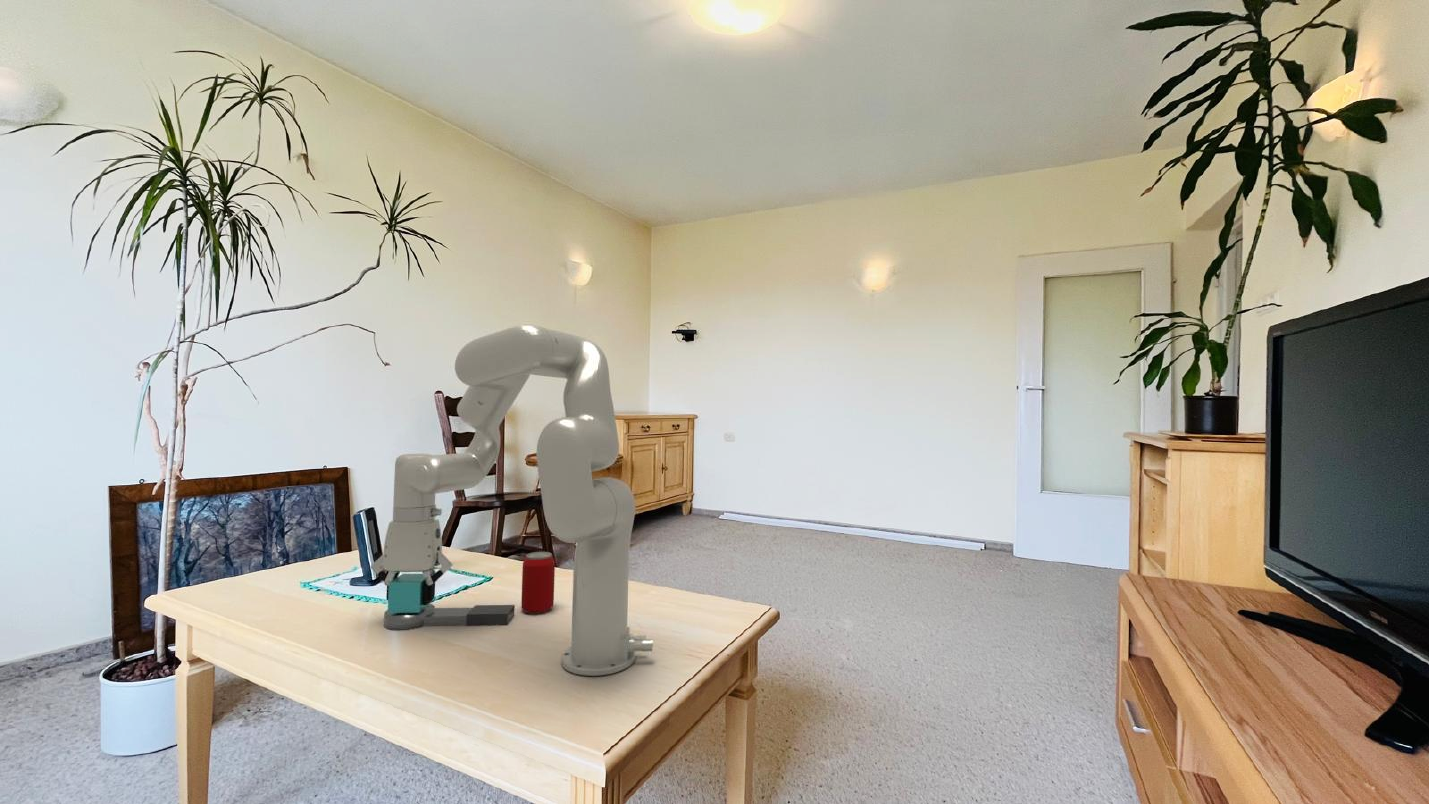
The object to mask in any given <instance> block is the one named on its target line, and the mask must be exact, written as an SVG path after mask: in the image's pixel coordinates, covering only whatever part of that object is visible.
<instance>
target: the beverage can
mask: <svg viewBox="0 0 1429 804" xmlns="http://www.w3.org/2000/svg"><path fill="white" fill-rule="evenodd" d="M555 566H556V562H555V559H554V556H553V554H552V553H551V552H548V551H533V552H530V553H527V554H526V555H525V559H524V561H523V562H522V569H521V570H522V571H521V572H522V573H521V577H522V578H521V610H523V611H524V612H525V613H527V614H531V615H536V614H544V613H546V612H548V611H549V610H551V609H552V608H553V607H554V602H555V601H554V599H555V575H556V574H555V572H556V571H555V570H556V569H555V568H556V567H555Z"/></svg>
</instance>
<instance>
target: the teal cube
mask: <svg viewBox="0 0 1429 804" xmlns="http://www.w3.org/2000/svg"><path fill="white" fill-rule="evenodd" d="M425 585H426V581H425V578H424V575H423V573H402V574H401V575H400V574H399V576H398V577H397V578H395V579H394V580H392V581H390V582H389V592H388V600H387V610H388V613H420V612H421V611H422V610H423V609H425V608H426V607H427V606H428V605H430V604H433V600H432V601H431V602H430V603H429V604H428V605H423V591H424V586H425Z"/></svg>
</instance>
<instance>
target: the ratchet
mask: <svg viewBox="0 0 1429 804" xmlns="http://www.w3.org/2000/svg"><path fill="white" fill-rule="evenodd" d="M515 607H516V606H515V604H487V605H486V604H481V605H478V604H476V605H474V606H473V607H436V606H435V605H434V604H433V603H431V604H430V605H428V606H427V607H426V608H425V609H423V610H422V611H421V612H420V613H388V609H387V610H385V611H384V614H383V628H384V629H386V630H389V631H394V632H395V631H397V632H400V631H411V630H416V629H420V628H422V627H453V626H454V627H463V626H464V627H465V626H466V627H489V626H492V627H493V626H508V625H509V624H510V622H511V621H512V619H513V618H514V617H515V610H516V609H515ZM415 628H416V629H415ZM410 629H411V630H410Z"/></svg>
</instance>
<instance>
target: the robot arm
mask: <svg viewBox="0 0 1429 804" xmlns="http://www.w3.org/2000/svg"><path fill="white" fill-rule="evenodd" d="M608 364H609V363H608V360H607V357H606V355H605V352H604V351H603V350H602V348H600V346H598V345H597V344H596V343H595V342H593V341H592V340H589V339H587V338H584V337H581V336H578V335H575V334H571V333H566V332H563V331H558V330H555V329H549V328H545V327H541V326H538V325H532V324H521V325H515V326H512V327H508V328H506V329H502V330H500V331H496V332H494V333H490V334H486V335H483V336H481V337H478V338H476V339H475V338H474V339H472V340H471V341H469V342H468V343H466V344H464V346H463V347H461V349H460V351H459V352H458V354H457V356H456V359H455V362H454V371H455V375H456V376H457V379H458V380H459V381H461V383H462V384H465V385H467V386H468V388H467V389H466V391H465V392H464V394H463V396H462V398H461V399H460V400H459V402H458V404H457V407H456V412H457V415H458V417H459V418H460V419H461V420H462V421H463V422H464V423H465V424H466V425H468V426H469V427H471V428H472V429H474V430H475V432H474V435H473V439H472V440H471V441H470V443H469V445H468V447H467V448H466V449H465V451H464V452H463V453H447V454H446V453H445V454H434V455H433V454H429V453H405V454H401V455H398V456H397V457H396V458H395V463H394V477H393V478H394V479H393V482H394V483H393V503H392V506H393V507H392V520H391V521H390V522H389V523H388V527H387V530H386V534H385V539H384V544H383V552H382V554H381V555H380V557H378V558H377V559H376V560H375V561H374V562H373V563H372V564H371V565H370V569H371V571H373V572H374V573H375V574H377V576H378V578H379V579H380V580H382V582H383V583H384V586H386V600H387V601H388V592H389V582H390V581H392V580H394V579H395V578H397V577H399V576H400V573H411V572H413V573H414V572H415V573H419V572H422V573H421V574H423V575H424V578H425V581H426V585H425V586H424V591H423V605H428V604H429V603H430V602H431V601H432V602H433V600H434V599H435V595H436V582H437V581H438V580H439V579H440V578H441V577H442V576H444V574H445V573H446V572H447V571H449V570H450V569H451V568H452V567H453V563H452V562H451V561H450V560H449V559H448V558H447V556H445V554H443V539H442V529H441V524H440V520H439V519H437V518H436V517H437V516H442V513H443V510H442V509H441V508H437V505H436V494H442V493H448V492H453V491H461V490H468V489H472V488H475V487H476V486H478V485H479V484H480V483H481V482H483V480H484V479H486V477H487V475H488V474H489V473H490V470H491V469H492V468H493V466H494V465H495V463H496V461H497V459H498V458H499V454H500V449H501V433H500V425H501V423H502V422H503V420H504V419H505V417H506V416H507V413H508V412H509V410H510V408H511V407H512V405H513V404H514V402H515V401H516V399H517V397H518V396H519V394H520V392H521V391H522V389H524V386H525V385H526V383H527V381H528V379H529V378H530V376H531V375H532V376H533V375H534V376H540V377H551V378H558V379H559V378H560V379H566V383H565V385H564V390H563V398H562V399H563V406H564V413H565V417H559V418H555V419H554V420H552V421H550V422H549V423H547V424H546V426H545V427H544V428H543V429H542V430H541V432H540V435H539V437H538V440H537V444H536V465H537V471H538V478H539V479H538V480H539V487H540V494H541V502H542V508H543V513H544V519H545V522H546V524H547V525H546V526H547V528H548V529H549V531H550V532H551V535H553V536H554V537H555V538H556V539H557V540H559V541H561V542H564V543H569V544H576V546H575V550H574V557H573V571H572V573H573V578H572V607H571V608H572V609H571V610H572V612H571V614H572V616H571V642H570V644H571V645H570V646H569V647H568V648H566V649H565V650H564V651H563V653H562V655H561V665H562V667H563V668H564V670H567V672H569V673H572V674H575V675H580V676H589V677H590V676H591V677H592V676H593V677H594V676H595V677H597V676H605V675H611V674H615V673H618V672H621V671H624V670H625V669H627V668H629V667H630V666H631V665H632V664H633V663H634V662H635V660H636V652H653V639H647V635H633V633H632V634H631V633H630V626H628V613H629V612H628V606H629V605H628V604H629V575H630V574H629V571H630V547H631V539H632V538H631V537H632V532H633V526H634V520H635V515H636V514H635V513H636V500H635V496H634V493H633V492H632V489H631V488H630V487H629V486H628V484H626V483H625V482H623V481H622V480H620V479H617V478H616V477H614V478H613V477H600V478H593V475H592V473H593V472H597V471H601V470H605V469H608V468H609V467H611V466H612V465H614V464H615V463H616V461H617V459H618V457H619V454H620V443H619V435H618V429H617V421H616V415H615V409H614V403H613V402H614V401H613V398H612V392H611V384H610V383H611V382H610V372H609V370H610V369H609V365H608ZM435 518H436V519H435ZM438 566H440V569H438V570H437V571H436V569H435V567H438Z"/></svg>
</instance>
